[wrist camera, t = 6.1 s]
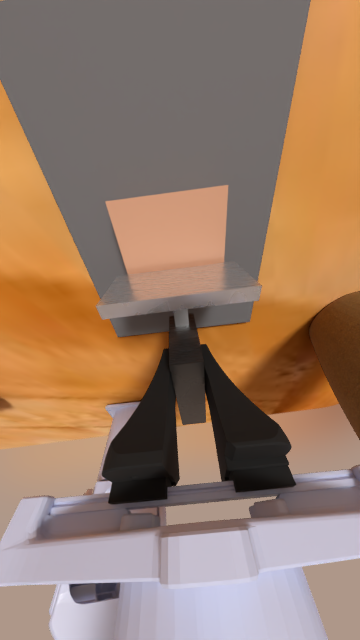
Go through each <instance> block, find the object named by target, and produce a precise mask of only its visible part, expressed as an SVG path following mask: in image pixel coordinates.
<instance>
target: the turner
mask: <svg viewBox="0 0 360 640" xmlns="http://www.w3.org/2000/svg"><path fill="white" fill-rule="evenodd" d="M261 287H262V285H261V284H259V283H258V282H257V281H256V280H255V279H254V278H253V277H251V276H250V275H249V274H248V273H247V272H246V271H245V270H243V269H242V268H241V267H240V266H239V265H238V264H237V263H236V262H234V261H233V262H225V263H217V264H209V265H201V266H193V267H185V268H177V269H170V270H162V271H154V272H146V273H138V274H130V275H122V276H117V277H116V279H115V280H114V282H113V283H112V284H111V286H110V287H109V289H108V290H107V291H106V293H105V294H104V295H103V297H102V298H101V300H100V301H99V302H98V304H97V305H96V307H97V309H98V312H99V314H100V316H101V318H102V319H110V318H118V317H126V316H134V315H143V314H151V313H159V312H168V311H173V313H174V316H169V368H170V372H171V377H172V381H173V385H174V389H175V394H176V398H177V402H178V407H179V411H180V415H181V419H182V424H183V425H186V424H196V423H205V422H206V409H205V377H204V359H203V355H202V350H201V346H200V341H199V337H198V332H197V328H196V323H195V318H194V314H193V313H191V314H188V309H192V308H201V307H209V306H217V305H225V304H234V303H242V302H250V301H259V297H260V292H261Z"/></svg>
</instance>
